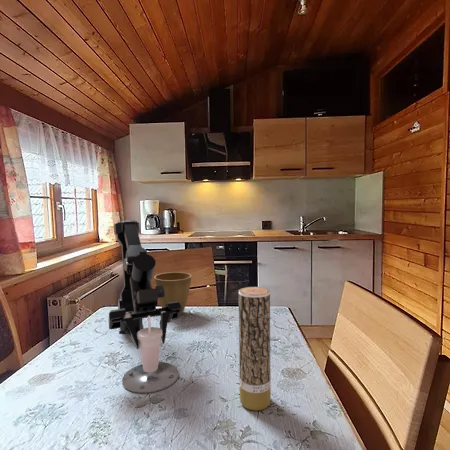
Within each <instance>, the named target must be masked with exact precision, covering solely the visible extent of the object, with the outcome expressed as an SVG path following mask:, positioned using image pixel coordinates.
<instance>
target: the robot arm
mask: <svg viewBox="0 0 450 450" xmlns="http://www.w3.org/2000/svg"><path fill="white" fill-rule="evenodd" d="M113 232H114V235H116V236H115V237H116V241H117V242H118V244H119V245H120V247H121V258H122V276H123V288H122V289H121V292H120V293H119V298H118V301H117V308H116V309H111V310H110V311H109V312H108V322H107V323H108V329H109V330H116V329H119V330H118V333H119V334H127V336H128V337H129V338H130V340H131V341H132V343H133V345H134V346H135V348H136V350H137V349H139V350H140V345H139V339H138V338H137V332H138V331H139V330H141V329H144V325H143V319H148V316H149V315H150V318H152V317H153V318H154V317H160V320H159V328H160V329H162V333H163V335H162V336H161V344H165V343H166V335H167V327H168V324H169V323H171V321H172V320H177V319H178V318H180V316H181V315H180V314H181V311H182V305H181V303H180V302H179V301H174V302H167V303H166V305H165V308H162V307H158V304H159V303H158V302H159V298H163V297H164V296H165V292H164V287H163V285H160V286H156V285H155V287H153V285H152V279H153V276H154V273H155V272H154V271H155V268H156V265H157V264H156V263H157V262H156V259H155V258H154V257H153V256H152V255H150V254H149V253H148V250H147V249H146V248H144V247H142V244H141V239H140V236H139V235H140V232H141V229H140V222H138V221H137V220H133V219H132V220H130V219H129V220H122V221H117V222H116V223H114V225H113ZM157 307H158V308H157Z"/></svg>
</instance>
